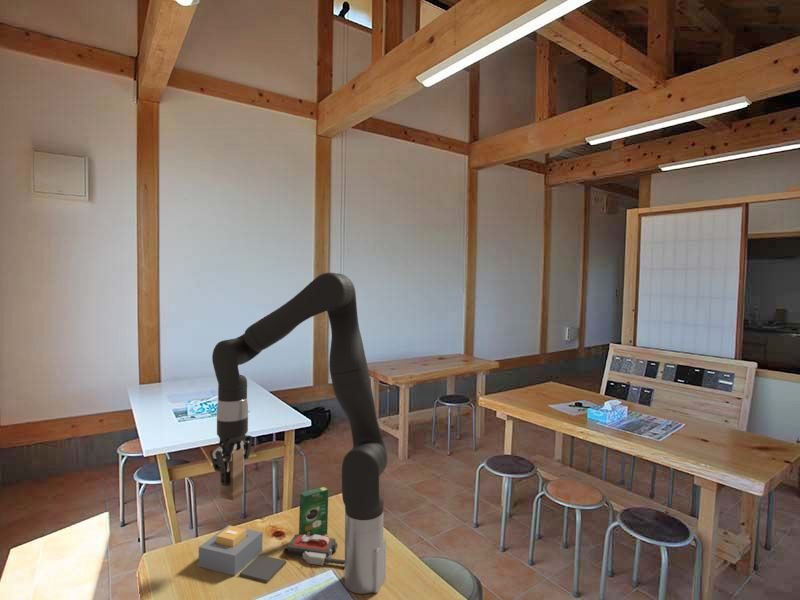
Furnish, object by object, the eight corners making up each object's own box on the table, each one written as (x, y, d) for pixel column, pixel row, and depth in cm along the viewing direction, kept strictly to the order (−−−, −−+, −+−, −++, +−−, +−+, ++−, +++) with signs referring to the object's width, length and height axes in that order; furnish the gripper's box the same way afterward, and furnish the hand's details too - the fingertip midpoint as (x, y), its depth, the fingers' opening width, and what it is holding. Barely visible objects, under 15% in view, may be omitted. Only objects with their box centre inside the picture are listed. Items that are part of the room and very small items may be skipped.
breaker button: (246, 544, 115) (246, 528, 115) (233, 555, 110) (233, 539, 110) (230, 540, 117) (230, 525, 117) (216, 551, 112) (216, 535, 112)
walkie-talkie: (279, 561, 113) (353, 571, 109) (279, 544, 113) (353, 554, 109) (293, 542, 122) (362, 551, 118) (293, 526, 122) (362, 535, 118)
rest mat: (286, 563, 112) (286, 560, 112) (267, 582, 104) (267, 580, 104) (259, 556, 114) (259, 554, 114) (239, 575, 107) (239, 573, 107)
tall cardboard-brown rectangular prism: (243, 493, 115) (243, 448, 114) (232, 500, 111) (233, 453, 110) (230, 491, 116) (230, 446, 116) (219, 497, 112) (220, 451, 112)
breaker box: (262, 550, 117) (262, 532, 117) (234, 575, 107) (235, 555, 107) (228, 542, 121) (228, 524, 120) (198, 566, 110) (198, 546, 110)
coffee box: (323, 529, 128) (324, 484, 128) (328, 533, 126) (329, 488, 126) (298, 538, 123) (298, 492, 123) (302, 543, 121) (303, 496, 121)
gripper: (225, 425, 105) (225, 496, 105) (261, 410, 118) (261, 473, 119) (200, 422, 107) (199, 491, 108) (238, 407, 121) (238, 469, 121)
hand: (232, 481), depth 113 cm, fingers closed on tall cardboard-brown rectangular prism, 4 cm apart
